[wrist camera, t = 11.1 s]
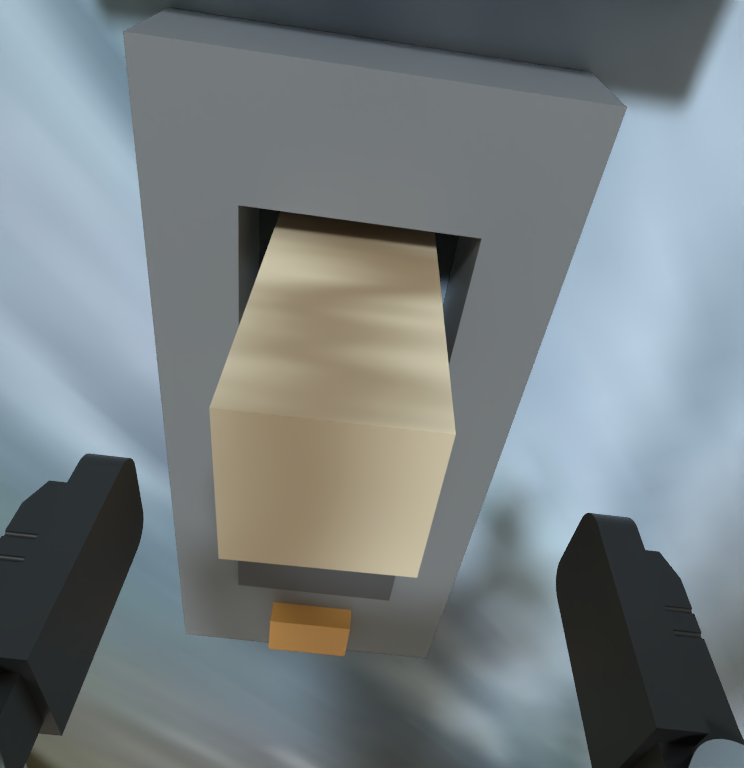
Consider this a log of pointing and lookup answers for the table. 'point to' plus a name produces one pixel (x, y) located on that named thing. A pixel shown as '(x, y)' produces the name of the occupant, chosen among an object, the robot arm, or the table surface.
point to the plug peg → (335, 402)
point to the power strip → (362, 204)
